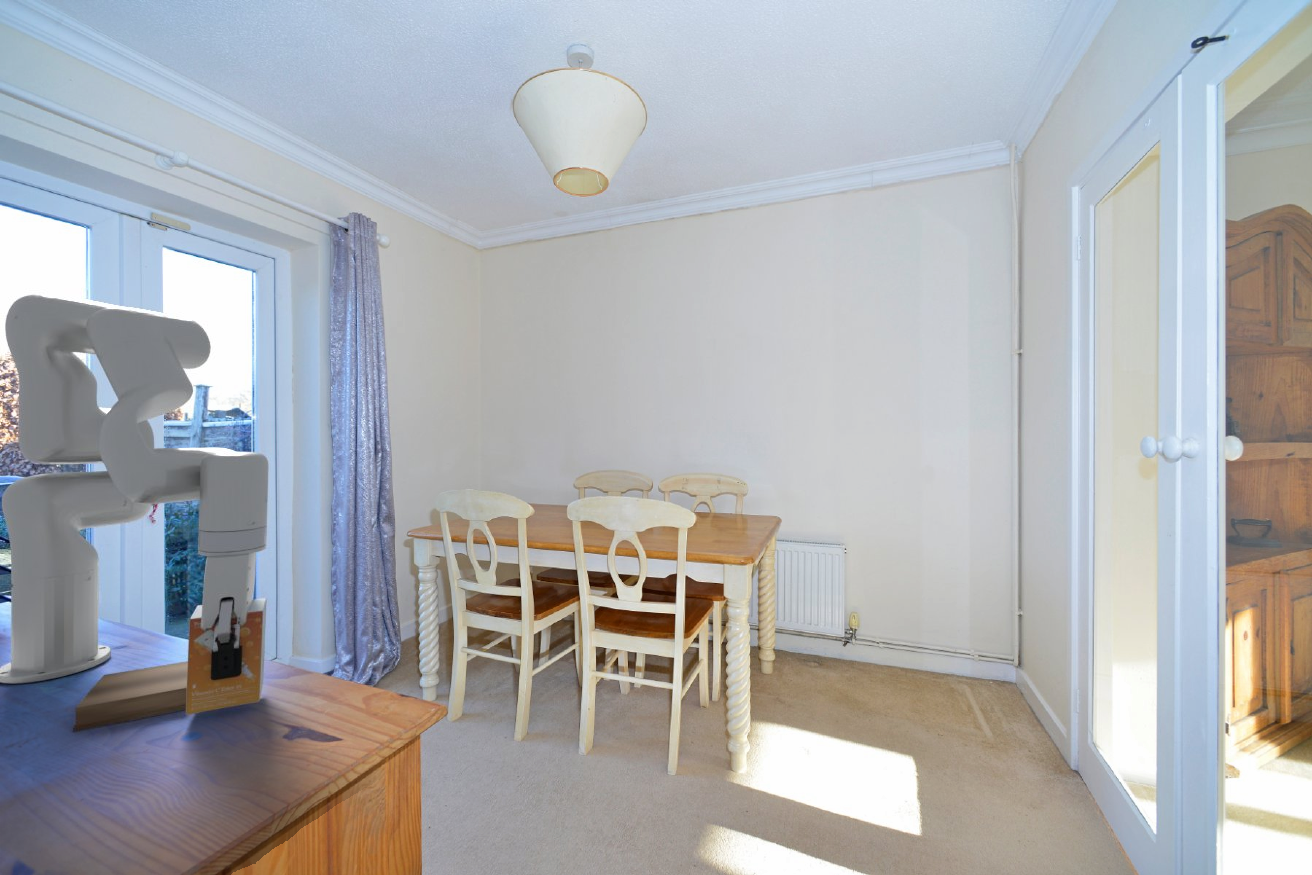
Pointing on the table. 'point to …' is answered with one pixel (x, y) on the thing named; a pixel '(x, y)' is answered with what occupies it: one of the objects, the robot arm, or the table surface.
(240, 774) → the table surface
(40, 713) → the table surface
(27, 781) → the table surface
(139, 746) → the table surface
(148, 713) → the plinth
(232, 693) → the small box
